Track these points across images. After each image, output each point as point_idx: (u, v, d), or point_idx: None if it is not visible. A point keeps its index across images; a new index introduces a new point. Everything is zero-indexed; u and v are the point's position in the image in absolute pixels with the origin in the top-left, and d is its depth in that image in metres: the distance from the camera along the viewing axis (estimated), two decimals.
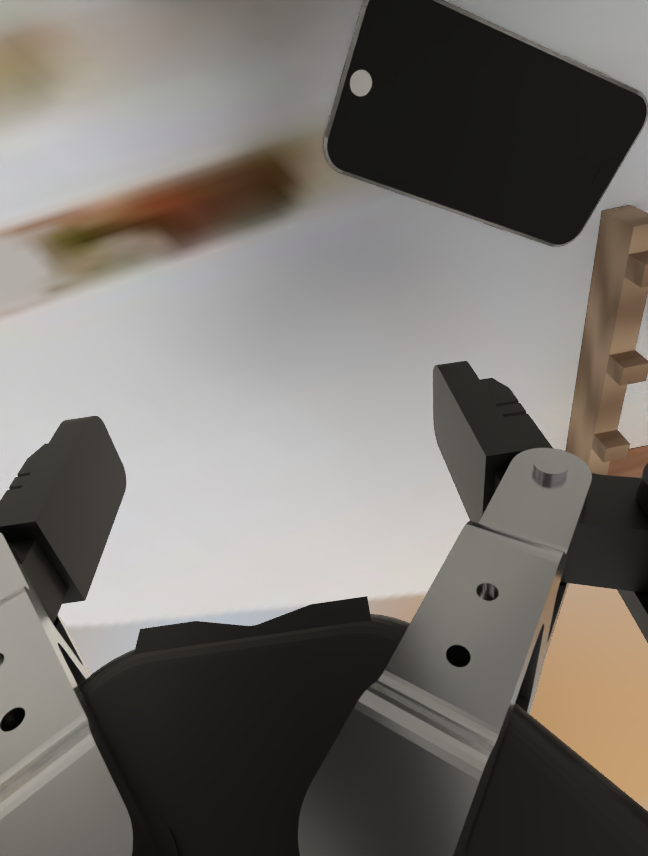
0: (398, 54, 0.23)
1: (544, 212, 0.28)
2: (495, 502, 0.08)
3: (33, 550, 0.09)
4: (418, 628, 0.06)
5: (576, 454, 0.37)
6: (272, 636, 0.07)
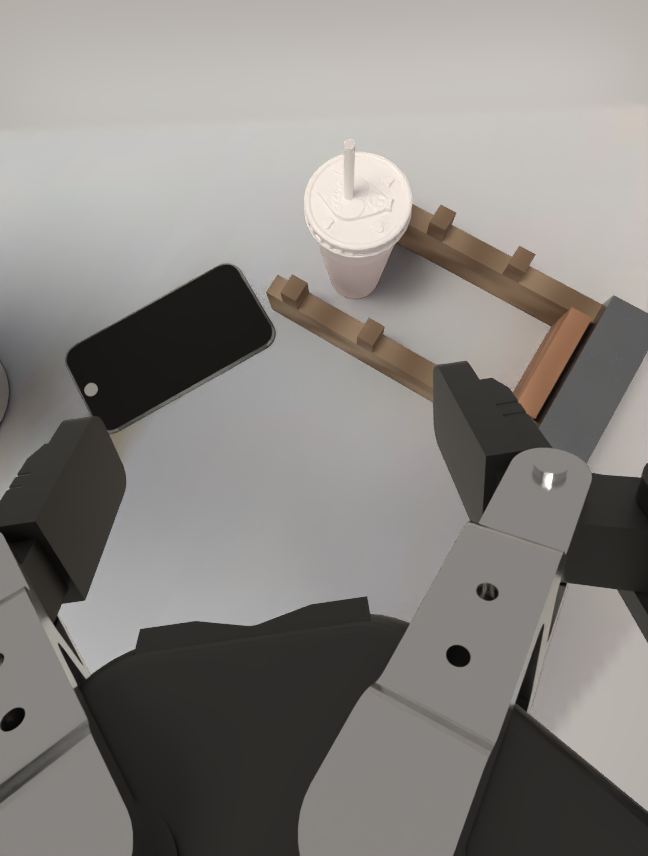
0: (97, 364, 0.39)
1: (240, 340, 0.39)
2: (495, 502, 0.08)
3: (33, 550, 0.09)
4: (418, 628, 0.06)
5: None
6: (272, 636, 0.07)
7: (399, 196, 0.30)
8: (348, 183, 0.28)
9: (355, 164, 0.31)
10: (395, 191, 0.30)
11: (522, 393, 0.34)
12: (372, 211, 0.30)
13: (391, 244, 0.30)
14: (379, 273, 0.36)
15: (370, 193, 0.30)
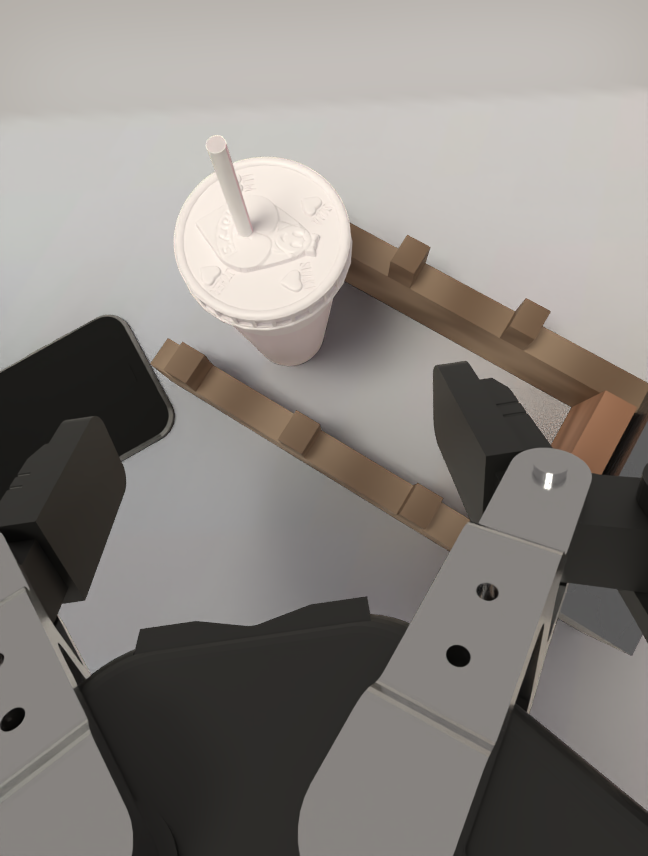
0: None
1: (123, 427, 0.27)
2: (495, 502, 0.08)
3: (33, 550, 0.09)
4: (418, 628, 0.06)
5: None
6: (272, 636, 0.07)
7: (329, 230, 0.18)
8: (235, 211, 0.17)
9: (259, 177, 0.19)
10: (322, 222, 0.18)
11: None
12: (283, 255, 0.18)
13: (317, 308, 0.18)
14: (316, 337, 0.24)
15: (281, 225, 0.18)
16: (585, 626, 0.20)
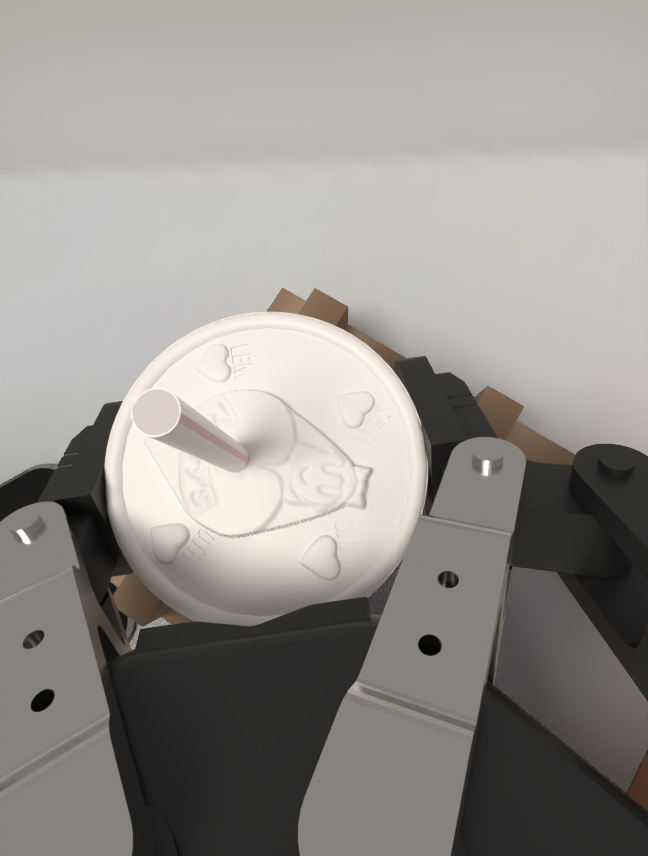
0: None
1: None
2: (442, 493, 0.08)
3: (87, 523, 0.10)
4: (418, 628, 0.06)
5: None
6: (272, 637, 0.07)
7: (389, 456, 0.10)
8: (212, 463, 0.08)
9: (260, 350, 0.10)
10: (376, 441, 0.10)
11: None
12: (305, 510, 0.10)
13: None
14: None
15: (300, 451, 0.10)
16: None
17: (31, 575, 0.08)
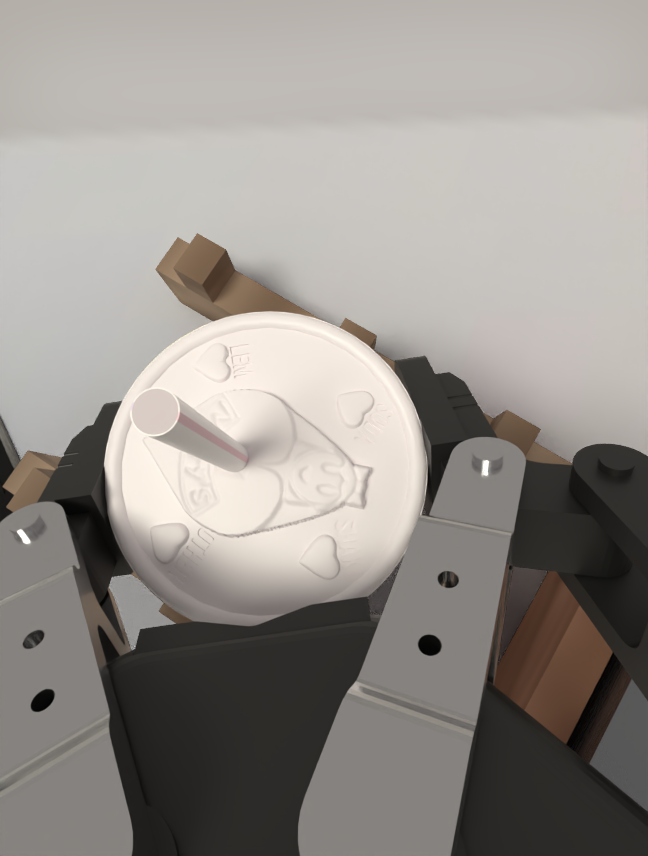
0: None
1: None
2: (442, 494, 0.08)
3: (87, 522, 0.10)
4: (418, 628, 0.06)
5: None
6: (271, 637, 0.07)
7: (388, 456, 0.10)
8: (212, 463, 0.08)
9: (260, 350, 0.10)
10: (375, 440, 0.10)
11: None
12: (305, 509, 0.10)
13: None
14: None
15: (300, 451, 0.10)
16: None
17: (31, 575, 0.08)
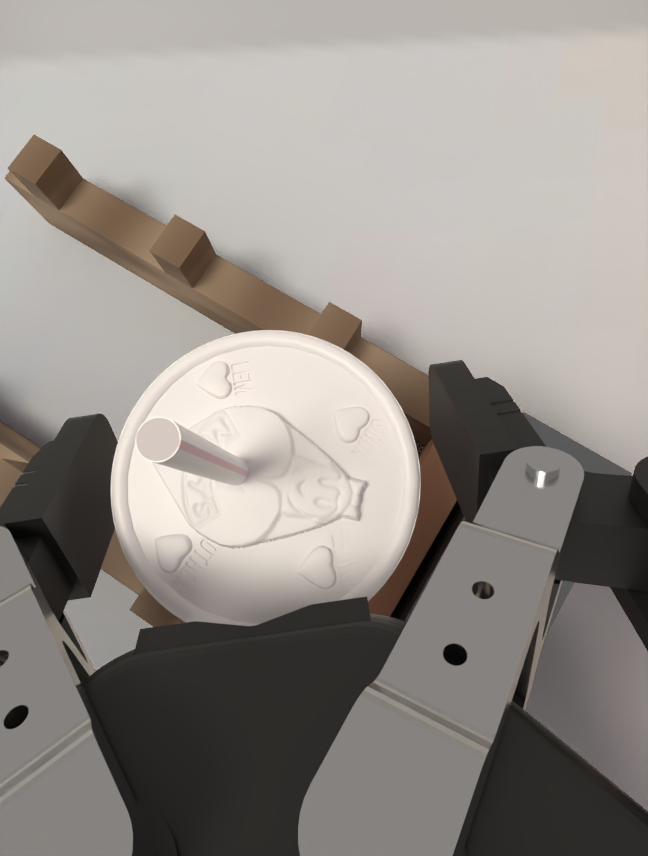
0: None
1: None
2: (489, 501, 0.08)
3: (39, 546, 0.09)
4: (418, 628, 0.06)
5: None
6: (272, 636, 0.07)
7: (383, 470, 0.10)
8: (213, 479, 0.09)
9: (260, 367, 0.11)
10: (370, 454, 0.10)
11: None
12: (303, 521, 0.10)
13: None
14: None
15: (297, 465, 0.10)
16: None
17: None
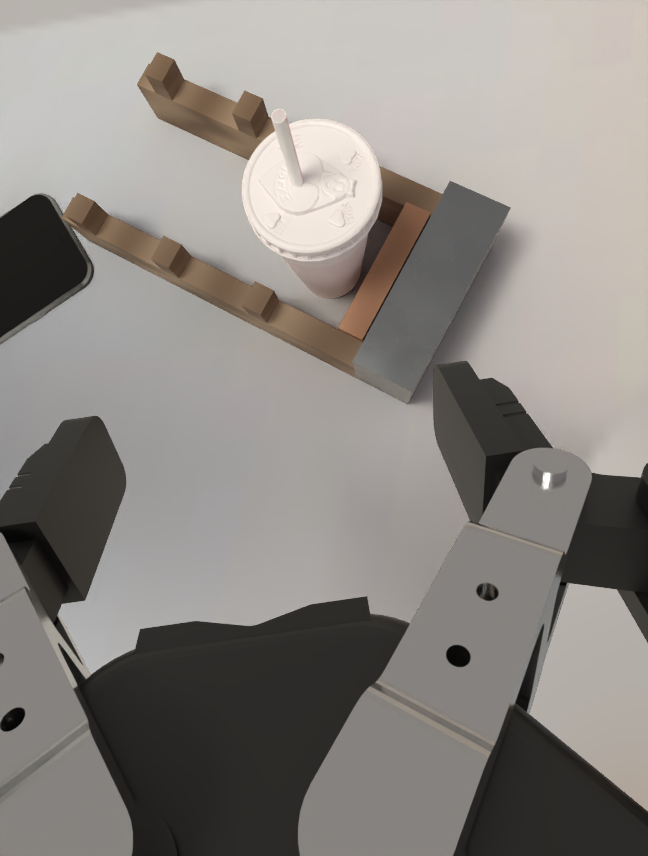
0: None
1: (54, 280, 0.34)
2: (495, 502, 0.08)
3: (33, 550, 0.09)
4: (418, 628, 0.06)
5: (300, 345, 0.31)
6: (272, 636, 0.07)
7: (363, 175, 0.23)
8: (291, 166, 0.21)
9: (304, 136, 0.23)
10: (357, 169, 0.23)
11: (348, 311, 0.29)
12: (329, 199, 0.23)
13: (358, 240, 0.23)
14: (355, 269, 0.29)
15: (325, 175, 0.23)
16: (378, 374, 0.27)
17: None
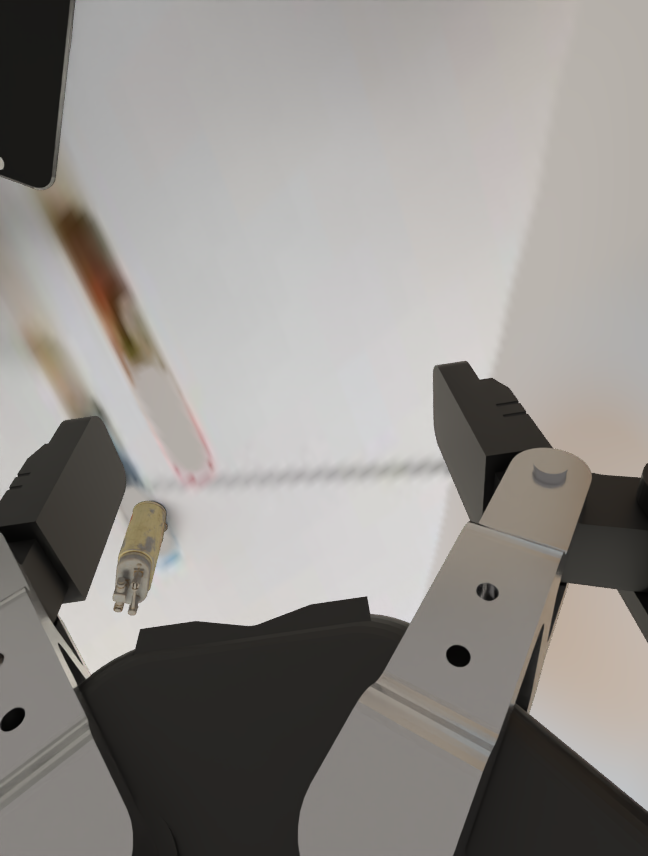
0: None
1: None
2: (495, 502, 0.08)
3: (33, 550, 0.09)
4: (418, 628, 0.06)
5: None
6: (272, 636, 0.07)
7: None
8: None
9: None
10: None
11: None
12: None
13: None
14: None
15: None
16: None
17: None
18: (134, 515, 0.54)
